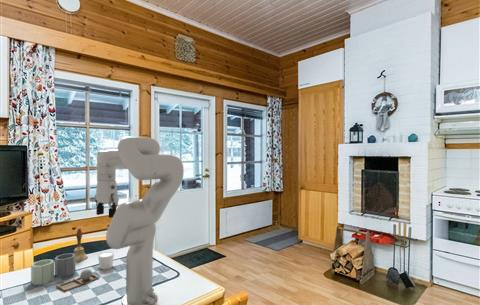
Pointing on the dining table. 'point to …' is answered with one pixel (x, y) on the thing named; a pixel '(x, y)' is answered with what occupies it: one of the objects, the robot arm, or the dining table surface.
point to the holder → (76, 283)
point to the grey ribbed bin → (64, 265)
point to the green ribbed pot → (42, 272)
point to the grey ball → (86, 274)
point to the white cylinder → (106, 260)
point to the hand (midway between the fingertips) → (106, 215)
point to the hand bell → (79, 248)
